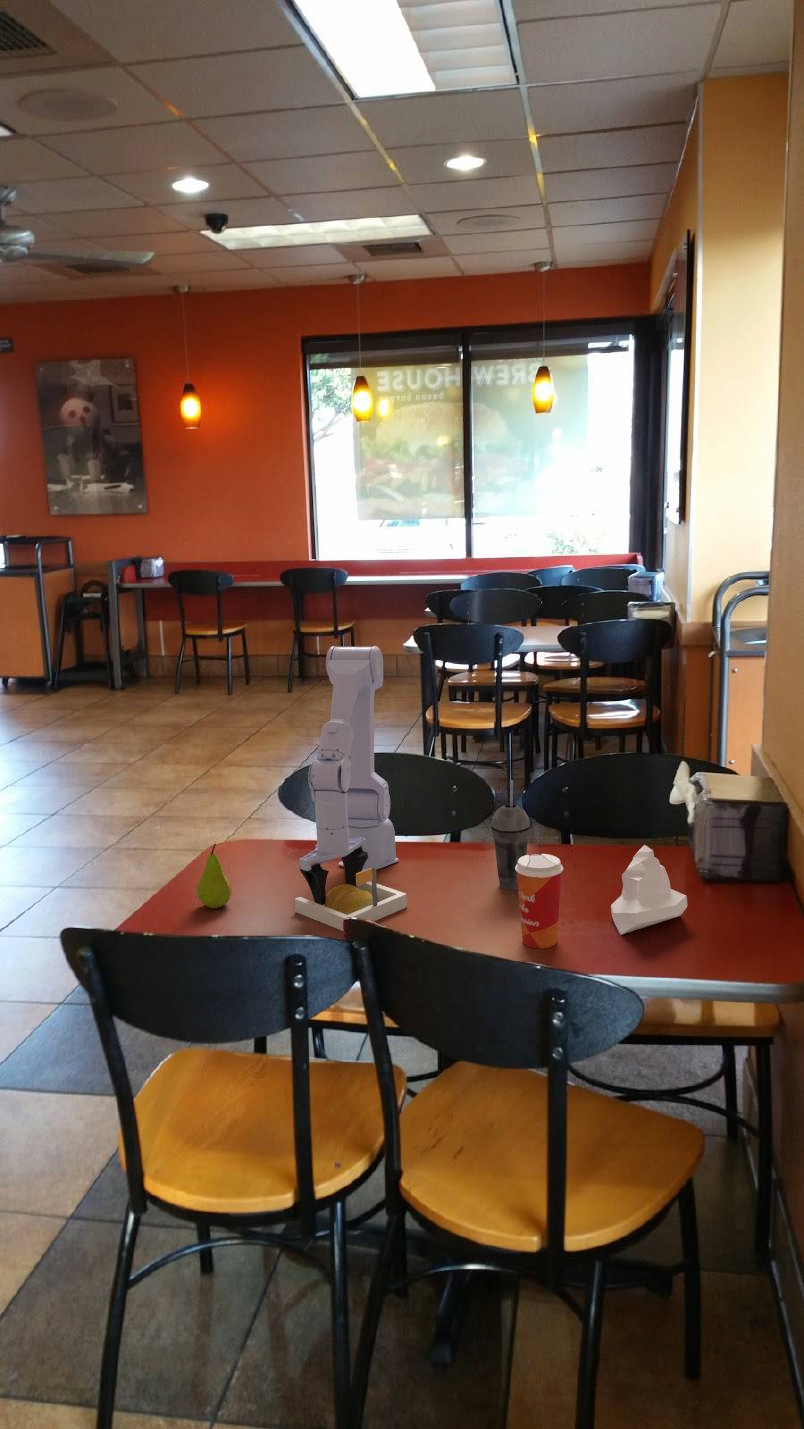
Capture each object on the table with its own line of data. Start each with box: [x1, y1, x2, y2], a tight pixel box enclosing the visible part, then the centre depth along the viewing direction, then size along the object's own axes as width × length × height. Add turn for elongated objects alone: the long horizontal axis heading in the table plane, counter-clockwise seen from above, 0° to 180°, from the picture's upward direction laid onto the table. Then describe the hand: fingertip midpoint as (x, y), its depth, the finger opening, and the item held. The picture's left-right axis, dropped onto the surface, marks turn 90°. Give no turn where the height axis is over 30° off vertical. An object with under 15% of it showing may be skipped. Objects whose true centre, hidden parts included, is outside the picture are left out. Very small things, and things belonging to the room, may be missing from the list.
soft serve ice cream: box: [610, 844, 688, 936], centre depth 179 cm, size 12×15×14 cm
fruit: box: [196, 843, 232, 909], centre depth 193 cm, size 6×6×12 cm
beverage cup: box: [490, 779, 532, 891], centre depth 196 cm, size 7×7×20 cm
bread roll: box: [323, 883, 373, 915], centre depth 190 cm, size 8×9×4 cm
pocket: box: [294, 866, 408, 932], centre depth 189 cm, size 14×14×10 cm
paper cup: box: [515, 853, 564, 950], centre depth 173 cm, size 8×8×14 cm
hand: (336, 896), depth 192 cm, fingers open, 7 cm apart
